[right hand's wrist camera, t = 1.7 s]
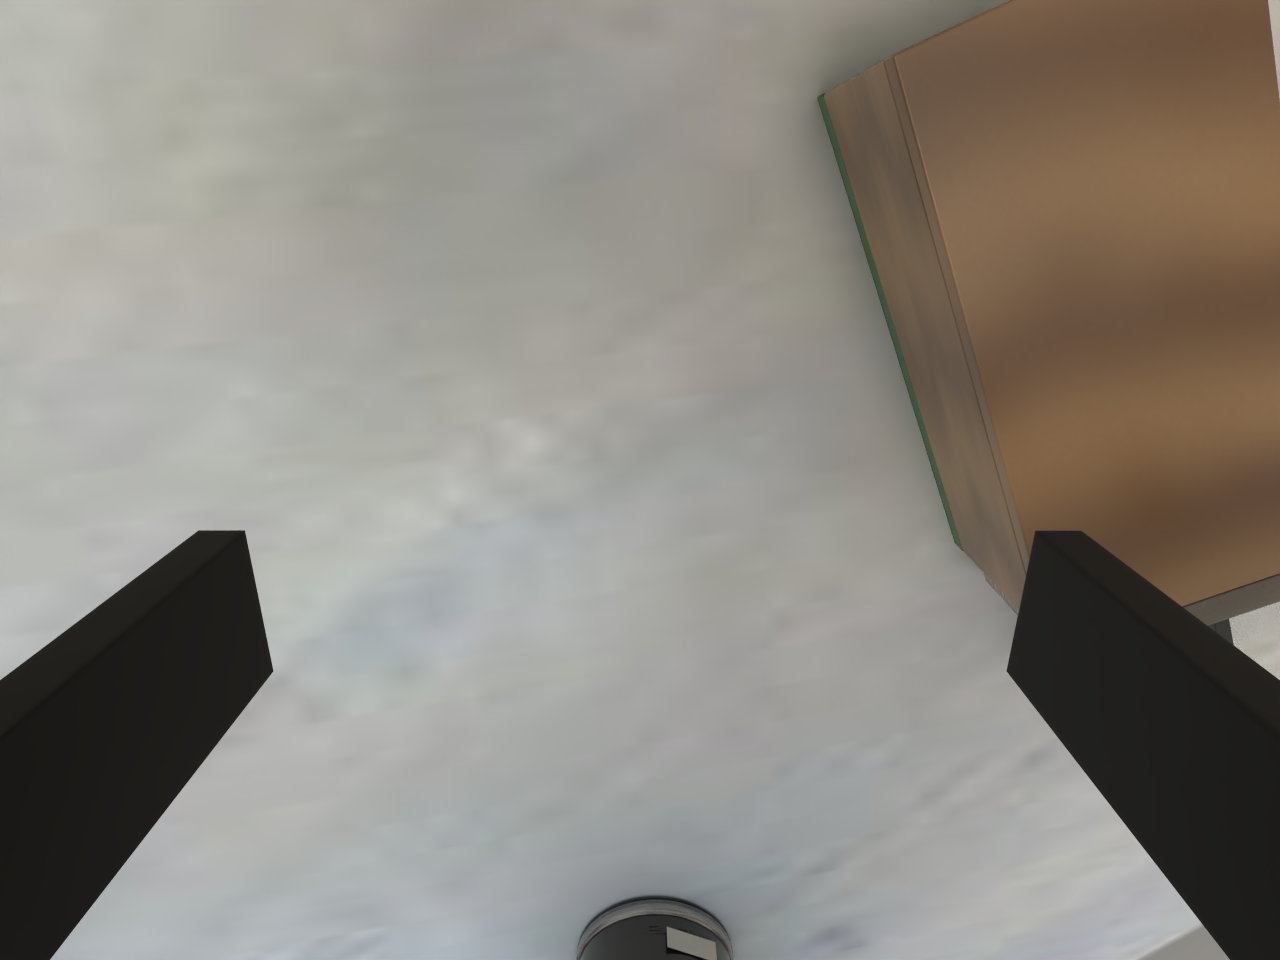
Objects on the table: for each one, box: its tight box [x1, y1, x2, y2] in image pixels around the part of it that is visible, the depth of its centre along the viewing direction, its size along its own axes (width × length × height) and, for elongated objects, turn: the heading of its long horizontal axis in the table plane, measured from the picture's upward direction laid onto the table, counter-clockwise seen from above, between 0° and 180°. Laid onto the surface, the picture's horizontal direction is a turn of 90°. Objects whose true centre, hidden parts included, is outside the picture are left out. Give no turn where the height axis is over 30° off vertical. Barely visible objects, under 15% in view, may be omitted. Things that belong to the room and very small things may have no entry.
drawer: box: [984, 573, 1280, 645], centre depth 29 cm, size 25×8×7 cm, turn 23°
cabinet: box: [818, 0, 1280, 610], centre depth 28 cm, size 21×10×9 cm, turn 23°
